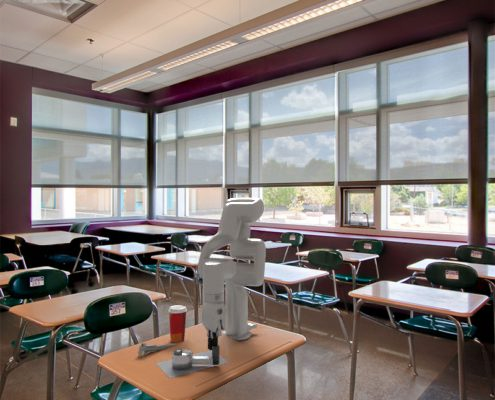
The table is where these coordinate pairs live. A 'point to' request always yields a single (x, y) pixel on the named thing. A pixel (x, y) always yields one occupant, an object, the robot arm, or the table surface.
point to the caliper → (152, 348)
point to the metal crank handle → (194, 358)
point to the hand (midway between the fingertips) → (212, 348)
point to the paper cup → (177, 323)
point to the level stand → (171, 372)
